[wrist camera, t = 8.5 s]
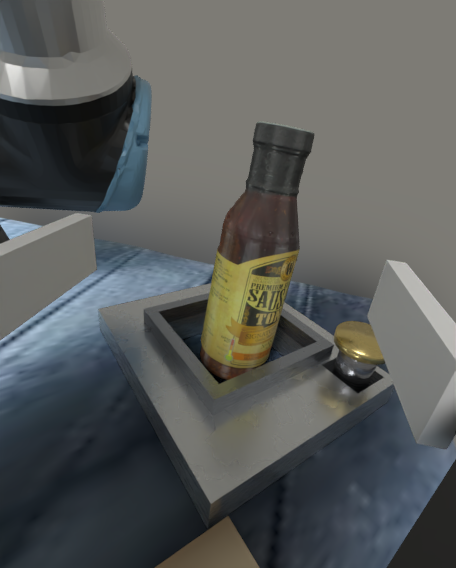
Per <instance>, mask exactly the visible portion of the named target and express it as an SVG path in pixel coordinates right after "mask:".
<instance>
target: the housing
mask: <svg viewBox="0 0 456 568" xmlns="http://www.w3.org/2000/svg"><path fill="white" fill-rule="evenodd" d="M210 288H211V283H210V284H206V285H202V286H197V287H193V288H189V289H184V290H180V291H175V292H171V293H167V294H162V295H158V296H153V297H149V298H145V299H140V300H136V301H132V302H127V303H123V304H118V305H114V306H110V307H105V308H101V309H98V312H99V322H100V330H101V332H102V334H103V336H104V338H105V340H106V342H107V343H108V345H109V347H110V349H111V351H112V353H113V355H114V356H115V358H116V360H117V362H118V364H119V366H120V368H121V369H122V371H123V373H124V375H125V377H126V379H127V381H128V382H129V384H130V386H131V388H132V390H133V392H134V394H135V395H136V397H137V399H138V401H139V403H140V405H141V407H142V408H143V410H144V412H145V414H146V416H147V418H148V420H149V421H150V423H151V425H152V427H153V429H154V431H155V433H156V434H157V436H158V438H159V440H160V442H161V444H162V446H163V447H164V449H165V451H166V453H167V455H168V457H169V459H170V460H171V462H172V464H173V466H174V468H175V470H176V472H177V474H178V475H179V477H180V479H181V481H182V483H183V485H184V487H185V488H186V490H187V492H188V494H189V496H190V498H191V500H192V501H193V503H194V505H195V507H196V509H197V511H198V513H199V514H200V516H201V518H202V520H203V522H204V524H205V526H206V527H207V529H209V528H210V527H211V526H213V525H214V524H216V523H217V522H219V521H220V520H221V519H223V518H224V517H226V516H227V515H229V514H230V513H231V512H233V511H234V510H236V509H237V508H238V507H240V506H241V505H243V504H244V503H246V502H247V501H248V500H250V499H251V498H253V497H254V496H255V495H257V494H258V493H260V492H261V491H263V490H264V489H265V488H267V487H268V486H270V485H271V484H273V483H274V482H275V481H277V480H278V479H280V478H281V477H282V476H284V475H285V474H287V473H288V472H290V471H291V470H292V469H294V468H295V467H297V466H298V465H299V464H301V463H302V462H304V461H305V460H307V459H308V458H309V457H311V456H312V455H314V454H315V453H317V452H318V451H319V450H321V449H322V448H324V447H325V446H326V445H328V444H329V443H331V442H332V441H334V440H335V439H336V438H338V437H339V436H341V435H342V434H343V433H345V432H346V431H348V430H349V429H351V428H352V427H353V426H355V425H356V424H358V423H359V422H361V421H362V420H363V419H365V418H366V417H368V416H369V415H370V414H372V413H373V412H375V411H376V410H378V409H379V408H380V407H382V406H383V405H385V404H386V403H387V402H388V401H389V399H390V397H391V394H392V392H393V390H394V388H395V386H394V384H393V381H392V379H391V376H390V375H389V374H388V373H386V372H385V371H383V370H382V369H381V368H379V367H378V366H376V369H375V371H374V374H373V376H372V378H371V381H370V383H369V386H368V388H366V389H365V390H363V391H361V392H360V393H356V392H355V391H354V390H352V389H351V388H350V387H349V386H347V385H346V384H345V383H344V382H342V381H341V380H340V379H339V378H337V377H336V376H335V375H334V374H332V370H333V367H334V364H335V361H336V358H337V355H338V352H339V349H338V348H337V346H336V345H335V343H334V336H333V335H331V334H330V333H328V332H327V331H326V330H324V329H323V328H321V327H320V326H318V325H317V324H315V323H314V322H313V321H311V320H310V319H308V318H307V317H305V316H304V315H302V314H301V313H299V312H298V311H297V310H295V309H294V308H292V307H291V306H289V305H288V304H286V303H285V302H284V304H283V309H282V312H281V315H280V319H279V322H278V326H277V329H276V333H275V336H274V340H273V343H272V347H273V348H274V349H276V350H277V351H278V352H279V353H280V354H281V355H283V357H281V358H278V359H276V360H274V361H271V362H269V363H267V364H264V365H262V366H260V367H257V368H255V369H253V370H250V371H248V372H246V373H243V374H241V375H239V376H237V377H234V378H232V379H230V380H227V381H225V382H223V383H220V384H218V382H217V381H216V380H215V379H214V378H213V376H212V375H211V374H210V373H209V372H208V370H207V369H206V368H205V367H204V366H203V364H202V363H201V362H200V361H199V360H198V359H197V357H196V356H195V355H194V354H193V353H192V351H191V350H190V349H189V348H188V347H187V345H186V344H185V343H184V342H183V341H182V339H185V338H188V337H191V336H194V335H197V334H200V333H202V331H203V326H204V320H205V315H206V309H207V304H208V299H209V293H210Z"/></svg>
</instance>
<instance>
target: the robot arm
mask: <svg viewBox="0 0 456 568" xmlns="http://www.w3.org/2000/svg"><path fill="white" fill-rule="evenodd" d="M150 119H151V86H150V84H149V83H148V81H146V80H143V79H141V78H140V77H138V76H132V62H131V57H130V54H129V51H128V49H127V48H126V46H125V45H124V44H123V42H122V41H121V40H120V39H119V38H118V37H117V36H116V35H115V34H114V33H112V31H111V30H110V29H109V28H108V27H107V24H106V16H105V7H104V0H0V206H2V207H20V208H37V209H38V208H39V209H55V210H72V211H73V210H74V211H90V212H97V213H100V212H102V211H125V210H130V209H132V208H134V207H135V206H137V205H138V204H139V202H140V200H141V198H142V195H143V189H144V182H145V175H146V166H147V155H148V145H147V143H148V141H149V130H150ZM96 270H97V266H96V256H95V245H94V235H93V225H92V216H91V215H85V214H79V213H75V214H73V215H70V216H68V217H65V218H63V219H60V220H58V221H55V222H53V223H51V224H48V225H46V226H43V227H41V228H38V229H36V230H33V231H31V232H28V233H26V234H23V235H21V236H18V237H16V238H13V239H11V240H10V239H9V238H8V236H7V235H6V233H5V232H4V230H3V228H2V227H1V225H0V340H1V339H3V338H4V337H5V336H7V335H8V334H10V333H11V332H12V331H14V330H15V329H16V328H18V327H19V326H21V325H22V324H23V323H25V322H26V321H27V320H29V319H30V318H31V317H33V316H34V315H36V314H37V313H38V312H40V311H41V310H42V309H44V308H45V307H46V306H48V305H49V304H51V303H52V302H53V301H55V300H56V299H57V298H59V297H60V296H62V295H63V294H64V293H66V292H67V291H68V290H70V289H71V288H72V287H74V286H75V285H77V284H78V283H79V282H81V281H82V280H83V279H85V278H86V277H87V276H89V275H90V274H92V273H93V272H94V271H96ZM368 319H369V322H370V324H371V327H372V329H373V332H374V334H375V337H376V340H377V342H378V345H379V347H380V350H381V353H382V355H383V358H384V360H385V363H386V366H387V368H388V371H389V373H390V376H391V379H392V381H393V384H394V386H395V389H396V392H397V394H398V397H399V399H400V402H401V405H402V407H403V410H404V412H405V415H406V417H407V420H408V423H409V425H410V428H411V430H412V433H413V436H414V438H415V441H416V443H417V444H422V445H427V446H432V447H436V448H441V449H447V448H448V446H449V445H450V443H451V441H452V440H453V438H454V436H455V435H456V323H455V322H454V321H453V320H452V319H451V317H450V316H449V315H448V314H447V312H446V311H445V310H444V309H443V308H442V306H441V305H440V304H439V303H438V301H437V300H436V299H435V298H434V296H433V295H432V294H431V293H430V292H429V290H428V289H427V288H426V287H425V285H424V284H423V283H422V282H421V281H420V279H419V278H418V277H417V276H416V274H415V273H414V272H413V271H412V270H411V268H410V267H409V266H408V265H407V263H404V262H397V261H391V260H387V261H386V263H385V266H384V269H383V272H382V275H381V278H380V281H379V284H378V287H377V290H376V292H375V296H374V298H373V301H372V304H371V307H370V310H369V313H368ZM387 568H456V460H455V462H454V463H453V465H452V466H451V468H450V469H449V471H448V472H447V474H446V476H445V477H444V479H443V480H442V482H441V483H440V485H439V487H438V488H437V490H436V491H435V493H434V494H433V496H432V498H431V499H430V501H429V502H428V504H427V505H426V507H425V508H424V510H423V512H422V513H421V515H420V516H419V518H418V519H417V521H416V522H415V524H414V526H413V527H412V529H411V530H410V532H409V533H408V535H407V537H406V538H405V540H404V541H403V543H402V544H401V546H400V547H399V549H398V551H397V552H396V554H395V555H394V557H393V558H392V560H391V562H390V563H389V565H388V566H387Z"/></svg>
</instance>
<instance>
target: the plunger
mask: <svg viewBox="0 0 456 568" xmlns="http://www.w3.org/2000/svg"><path fill="white" fill-rule="evenodd" d="M334 343H335V345H336V346H337V348H338V349H339V352H338V355H337V358H336V361H335V364H334V367H333V370H332V374H334V375H335V376H336V377H337V378H339V379H340V380H341V381H342V382H344V383H345V384H346V385H347V386H349V387H350V388H351V389H352V390H354V391H355V392H361V391H363V390H365V389H366V388H368V386H369V383H370V381H371V378H372V376H373V374H374V371H375V369H376V366H377V365H379V364H384V363H385V360H384V358H383V355H382V353H381V350H380V347H379V345H378V342H377V340H376V337H375V334H374V332H373V329H372V327H371V325H369V324H366V323H362V322H357V321H347V322H343V323H341V324H339V325H338V326H337V328H336V331H335V334H334Z"/></svg>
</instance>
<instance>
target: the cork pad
mask: <svg viewBox="0 0 456 568" xmlns="http://www.w3.org/2000/svg"><path fill="white" fill-rule="evenodd" d="M155 568H259V566H258V564H257V563H256V561H255V559H254V558H253V556H252V554H251V553H250V551H249V549H248V548H247V546H246V544H245V543H244V541H243V539H242V538H241V536H240V534H239V533H238V531H237V529H236V528H235V526H234V525H233V523H232V521H231V520H230V518H229V516H227V517H226V518H224V519H223V520H221V521H220V522H219V523H217V524H216V525H214V526H213V527H212V528H210V529H209V530H207V531H206V532H204V533H203V534H202V535H200V536H199V537H197V538H196V539H195V540H193V541H192V542H190V543H189V544H187V545H186V546H185V547H183V548H182V549H180V550H179V551H178V552H176V553H175V554H173V555H172V556H170V557H169V558H168V559H166V560H165V561H163V562H162V563H161V564H159V565H158V566H156V567H155Z"/></svg>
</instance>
